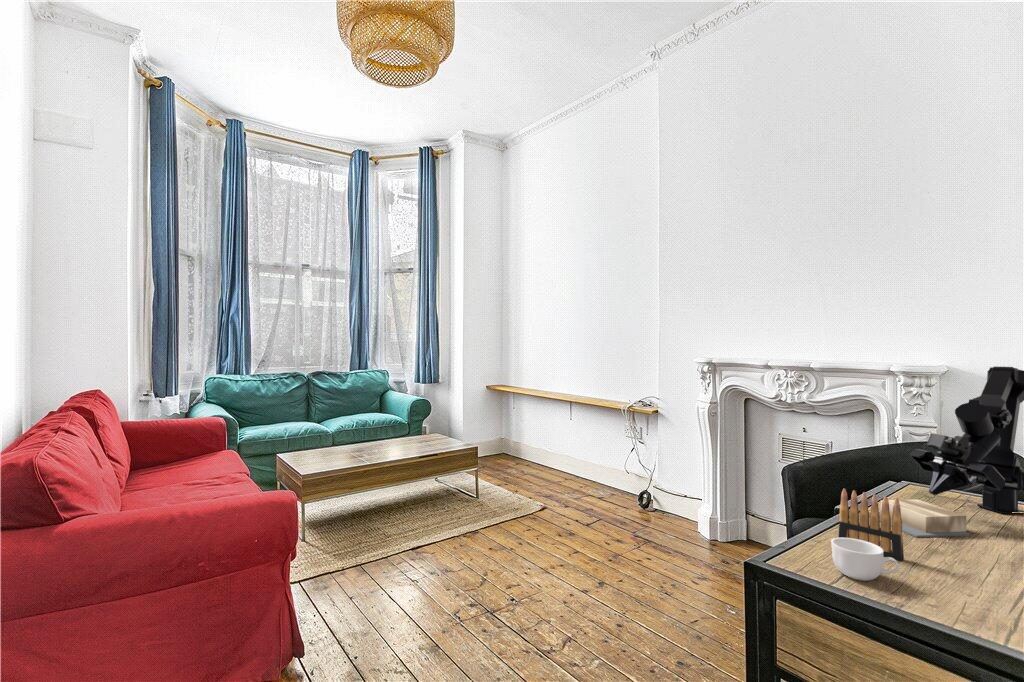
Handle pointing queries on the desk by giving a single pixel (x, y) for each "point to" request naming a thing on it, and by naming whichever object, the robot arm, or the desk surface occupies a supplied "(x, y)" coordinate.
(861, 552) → the teacup
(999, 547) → the desk surface
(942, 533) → the mat
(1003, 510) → the robot arm
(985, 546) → the desk surface
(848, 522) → the ammunition clip
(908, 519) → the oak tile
